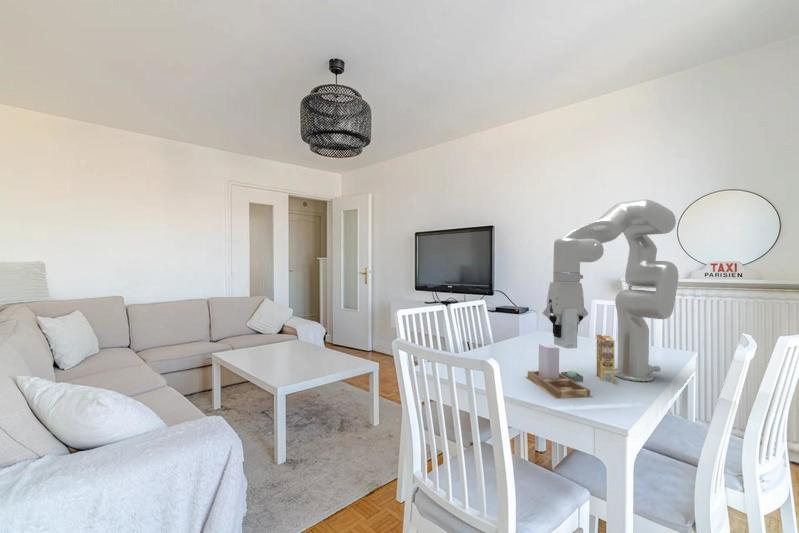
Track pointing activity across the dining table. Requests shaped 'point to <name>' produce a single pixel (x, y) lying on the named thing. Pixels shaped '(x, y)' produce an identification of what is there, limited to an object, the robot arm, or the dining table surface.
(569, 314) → the skincare box
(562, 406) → the dining table surface
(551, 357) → the seated billet
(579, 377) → the grey square holder
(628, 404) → the dining table surface
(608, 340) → the candy box
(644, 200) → the robot arm
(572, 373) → the button
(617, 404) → the dining table surface
